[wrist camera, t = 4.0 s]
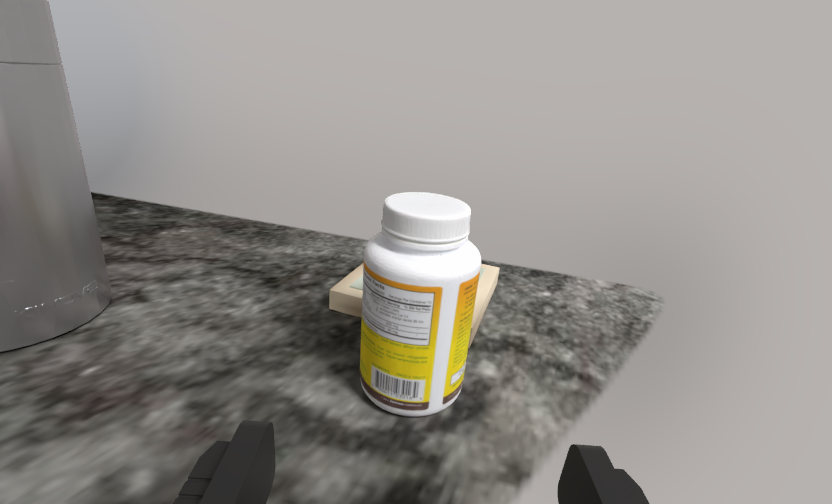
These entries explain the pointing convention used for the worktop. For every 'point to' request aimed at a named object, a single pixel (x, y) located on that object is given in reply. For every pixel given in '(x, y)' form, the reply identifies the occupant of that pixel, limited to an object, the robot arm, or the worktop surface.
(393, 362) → the supplement bottle
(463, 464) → the worktop surface
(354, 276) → the birch block
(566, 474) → the robot arm
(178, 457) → the worktop surface
